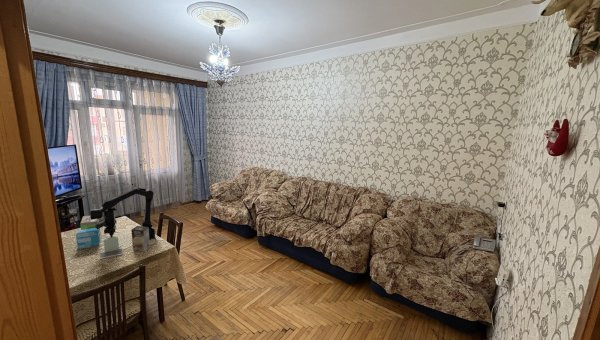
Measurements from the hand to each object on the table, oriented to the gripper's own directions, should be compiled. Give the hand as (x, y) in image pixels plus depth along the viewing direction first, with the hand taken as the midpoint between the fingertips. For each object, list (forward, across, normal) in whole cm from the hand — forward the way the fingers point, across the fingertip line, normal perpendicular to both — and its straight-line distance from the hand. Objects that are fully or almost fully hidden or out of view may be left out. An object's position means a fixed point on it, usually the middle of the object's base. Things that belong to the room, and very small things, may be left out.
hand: (111, 236), depth 182 cm
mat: (+7, +12, 0) cm, 14 cm away
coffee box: (+7, +13, +18) cm, 23 cm away
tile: (+7, +6, 0) cm, 9 cm away
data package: (+7, -7, -14) cm, 17 cm away
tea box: (+7, -23, -14) cm, 28 cm away
